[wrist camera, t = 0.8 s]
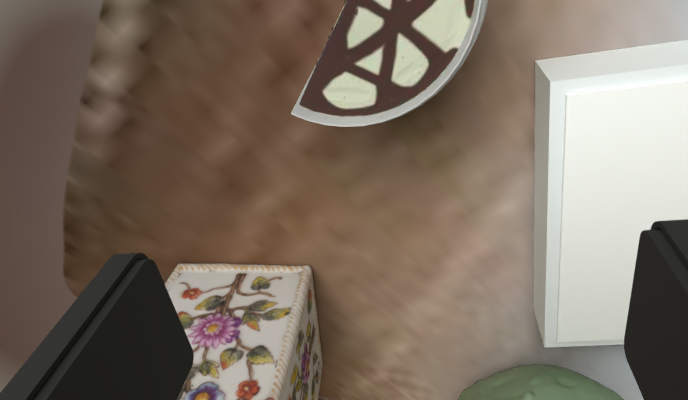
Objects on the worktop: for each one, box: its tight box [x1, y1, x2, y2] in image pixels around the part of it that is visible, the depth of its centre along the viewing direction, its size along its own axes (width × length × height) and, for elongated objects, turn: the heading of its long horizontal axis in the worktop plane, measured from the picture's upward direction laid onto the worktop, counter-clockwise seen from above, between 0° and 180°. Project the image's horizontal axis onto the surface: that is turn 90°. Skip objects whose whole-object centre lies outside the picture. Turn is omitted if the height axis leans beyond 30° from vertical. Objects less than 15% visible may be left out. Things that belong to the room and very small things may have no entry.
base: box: [533, 40, 688, 348], centre depth 33 cm, size 14×20×4 cm
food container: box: [291, 0, 488, 127], centre depth 26 cm, size 12×6×10 cm, turn 154°
